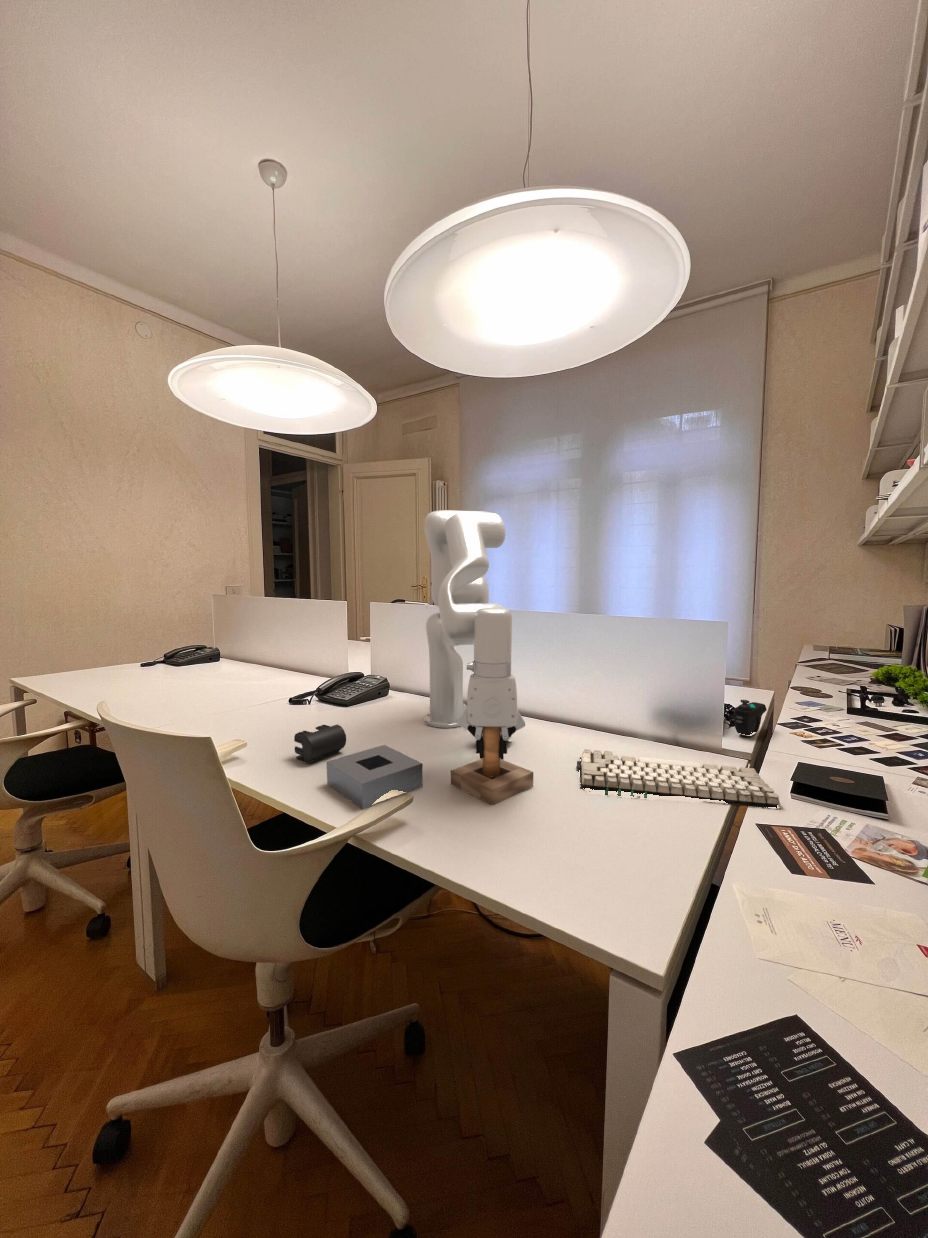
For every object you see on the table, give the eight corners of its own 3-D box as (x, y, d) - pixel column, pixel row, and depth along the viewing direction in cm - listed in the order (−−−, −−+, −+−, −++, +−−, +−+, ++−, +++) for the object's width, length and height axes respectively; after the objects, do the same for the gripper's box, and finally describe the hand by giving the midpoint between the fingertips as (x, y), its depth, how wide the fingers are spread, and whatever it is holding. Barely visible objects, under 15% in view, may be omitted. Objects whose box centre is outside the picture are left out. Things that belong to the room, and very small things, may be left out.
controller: (729, 737, 131) (731, 700, 130) (750, 728, 139) (752, 693, 137) (746, 742, 128) (749, 704, 127) (767, 732, 135) (769, 696, 134)
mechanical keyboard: (751, 773, 110) (752, 759, 110) (787, 817, 92) (788, 799, 91) (576, 760, 118) (576, 746, 118) (576, 798, 100) (577, 781, 99)
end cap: (312, 767, 112) (311, 738, 111) (293, 760, 116) (292, 732, 116) (347, 753, 120) (346, 726, 119) (328, 747, 124) (327, 721, 124)
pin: (491, 768, 106) (491, 717, 104) (503, 773, 103) (504, 722, 102) (478, 773, 103) (479, 721, 102) (491, 778, 101) (491, 726, 99)
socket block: (384, 766, 113) (384, 744, 112) (422, 786, 102) (422, 763, 102) (327, 784, 103) (326, 761, 103) (362, 809, 93) (362, 783, 92)
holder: (491, 768, 112) (491, 755, 111) (533, 786, 103) (533, 772, 102) (450, 784, 104) (450, 770, 103) (492, 805, 95) (492, 789, 94)
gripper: (449, 673, 97) (449, 763, 99) (535, 674, 96) (533, 765, 99) (452, 664, 105) (452, 748, 107) (532, 665, 104) (530, 750, 106)
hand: (491, 755), depth 103 cm, fingers closed on pin, 3 cm apart
